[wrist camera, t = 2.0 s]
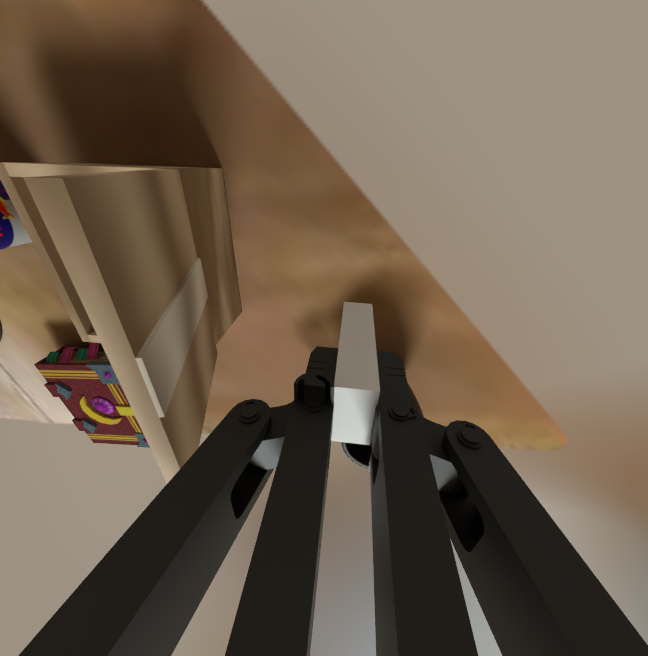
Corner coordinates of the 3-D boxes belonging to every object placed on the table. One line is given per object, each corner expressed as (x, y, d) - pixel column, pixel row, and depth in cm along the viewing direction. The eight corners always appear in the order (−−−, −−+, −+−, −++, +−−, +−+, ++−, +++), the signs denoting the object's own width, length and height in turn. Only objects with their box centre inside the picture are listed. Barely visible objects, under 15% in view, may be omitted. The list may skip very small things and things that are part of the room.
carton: (142, 303, 32) (82, 341, 25) (93, 163, 24) (-9, 162, 18) (241, 311, 31) (209, 352, 24) (222, 168, 24) (167, 168, 17)
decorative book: (114, 420, 44) (88, 447, 40) (59, 336, 36) (19, 359, 32) (179, 423, 43) (159, 451, 38) (137, 336, 35) (106, 360, 30)
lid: (172, 495, 14) (193, 491, 14) (23, 177, 6) (71, 178, 7) (207, 354, 24) (219, 353, 24) (164, 168, 17) (182, 169, 17)
